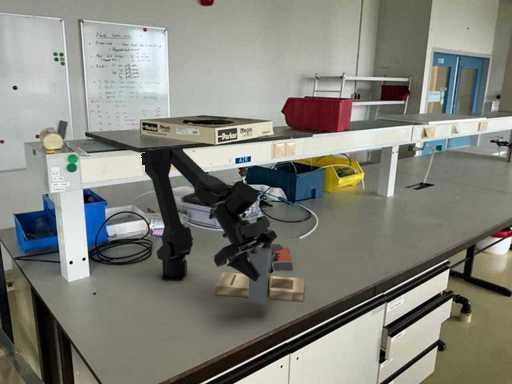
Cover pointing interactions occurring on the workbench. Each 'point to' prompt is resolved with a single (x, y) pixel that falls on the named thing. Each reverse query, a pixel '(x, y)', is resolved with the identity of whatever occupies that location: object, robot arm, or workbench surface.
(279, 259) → the toy gun
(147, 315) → the workbench surface
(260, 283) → the tall gray pillar
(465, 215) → the workbench surface
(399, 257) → the workbench surface
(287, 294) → the slotted wooden board
